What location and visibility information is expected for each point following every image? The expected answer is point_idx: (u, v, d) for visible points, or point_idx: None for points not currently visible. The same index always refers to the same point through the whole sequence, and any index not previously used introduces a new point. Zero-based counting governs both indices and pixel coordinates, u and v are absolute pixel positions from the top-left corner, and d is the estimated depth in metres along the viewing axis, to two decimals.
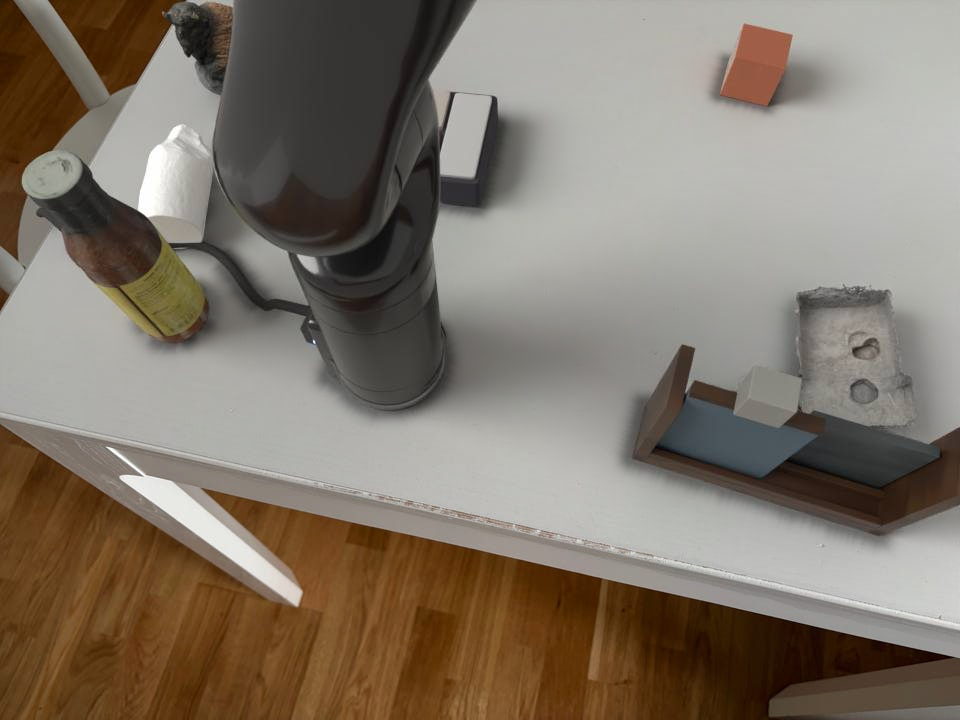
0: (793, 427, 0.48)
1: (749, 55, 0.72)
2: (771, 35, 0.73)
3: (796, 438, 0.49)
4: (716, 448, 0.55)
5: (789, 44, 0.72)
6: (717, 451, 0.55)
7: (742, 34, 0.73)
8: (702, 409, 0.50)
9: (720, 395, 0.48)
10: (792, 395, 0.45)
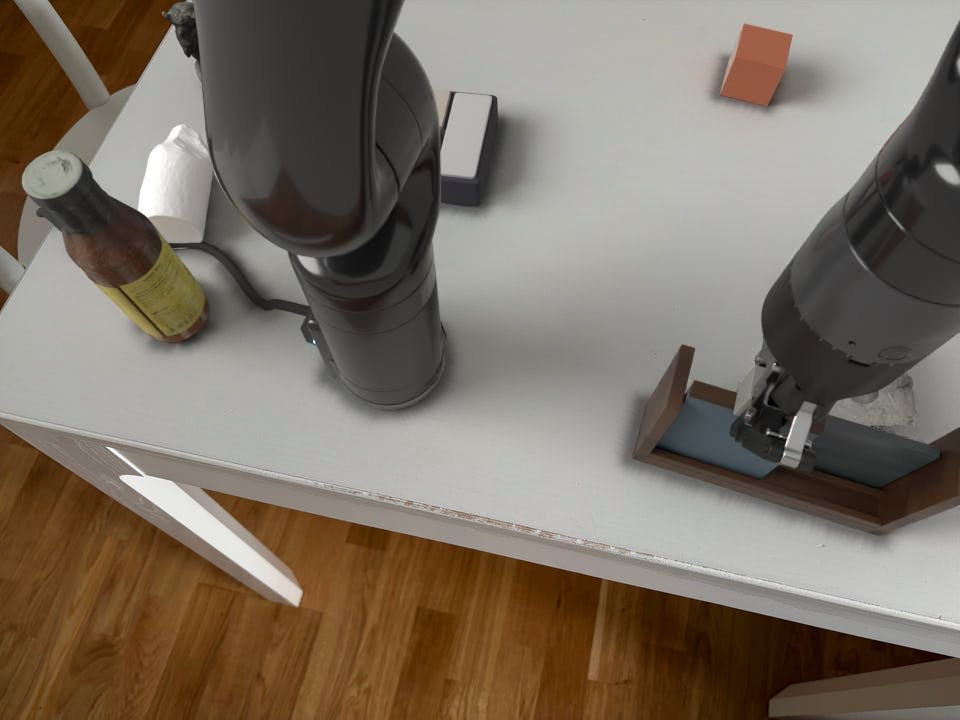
0: None
1: (749, 55, 0.72)
2: (771, 35, 0.73)
3: None
4: (716, 448, 0.55)
5: (789, 44, 0.72)
6: (717, 451, 0.55)
7: (742, 34, 0.73)
8: (702, 409, 0.50)
9: (720, 395, 0.48)
10: None
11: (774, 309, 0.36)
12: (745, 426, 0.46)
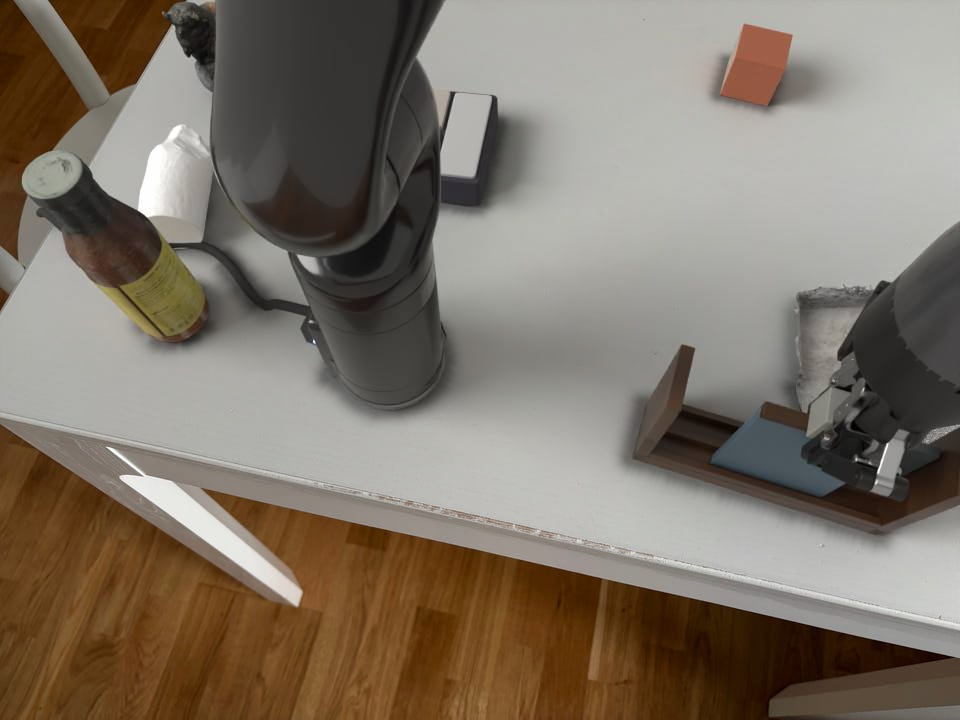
0: None
1: (749, 55, 0.72)
2: (771, 35, 0.73)
3: None
4: (779, 467, 0.54)
5: (789, 44, 0.72)
6: (779, 470, 0.55)
7: (742, 34, 0.73)
8: (771, 430, 0.49)
9: (792, 416, 0.47)
10: None
11: (871, 337, 0.35)
12: (820, 449, 0.46)
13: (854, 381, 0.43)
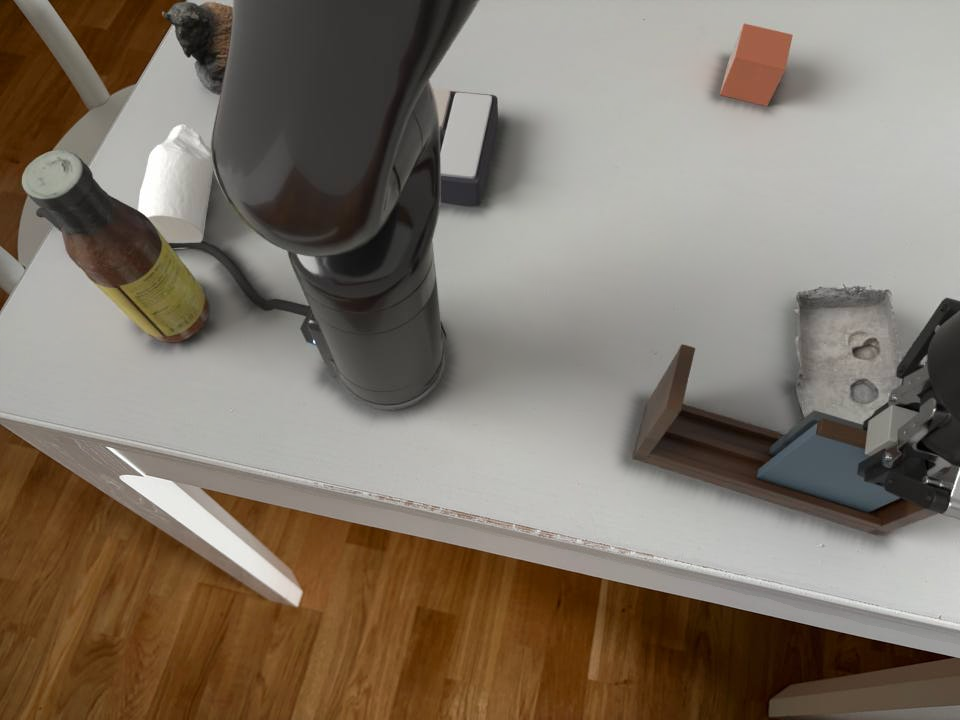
0: None
1: (749, 55, 0.72)
2: (771, 35, 0.73)
3: None
4: (828, 483, 0.54)
5: (789, 44, 0.72)
6: (828, 485, 0.54)
7: (742, 34, 0.73)
8: (826, 446, 0.49)
9: (850, 434, 0.47)
10: None
11: (949, 358, 0.35)
12: (879, 467, 0.45)
13: (917, 399, 0.43)
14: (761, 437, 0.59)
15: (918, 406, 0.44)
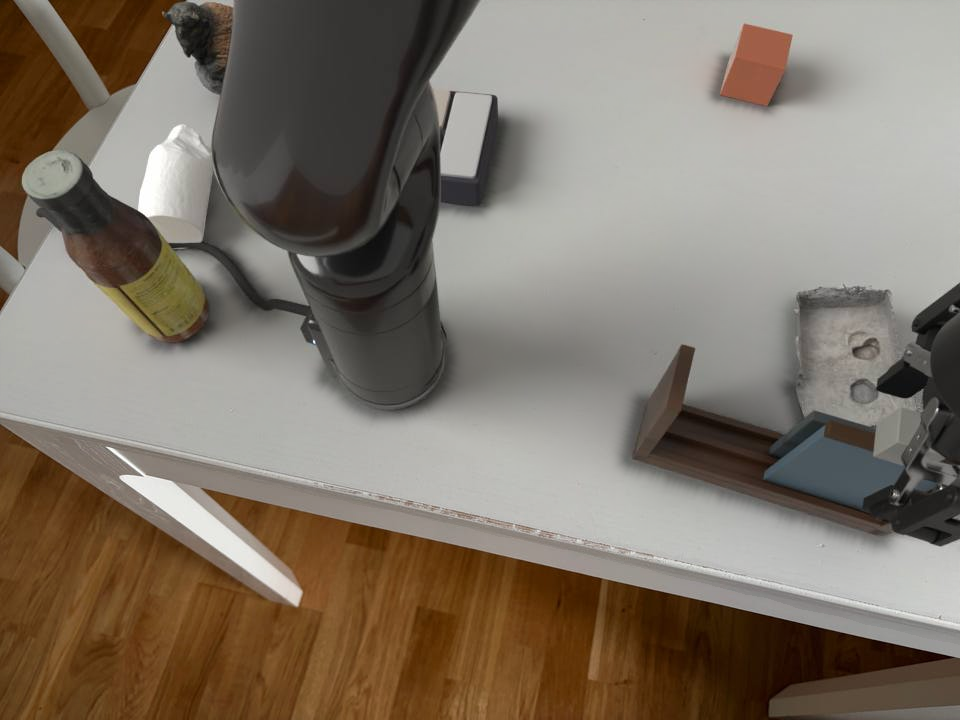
0: None
1: (749, 55, 0.72)
2: (771, 35, 0.73)
3: None
4: (835, 485, 0.54)
5: (789, 44, 0.72)
6: (835, 487, 0.54)
7: (742, 34, 0.73)
8: (834, 449, 0.49)
9: (858, 436, 0.47)
10: None
11: (953, 358, 0.35)
12: (886, 503, 0.43)
13: None
14: (761, 437, 0.59)
15: None
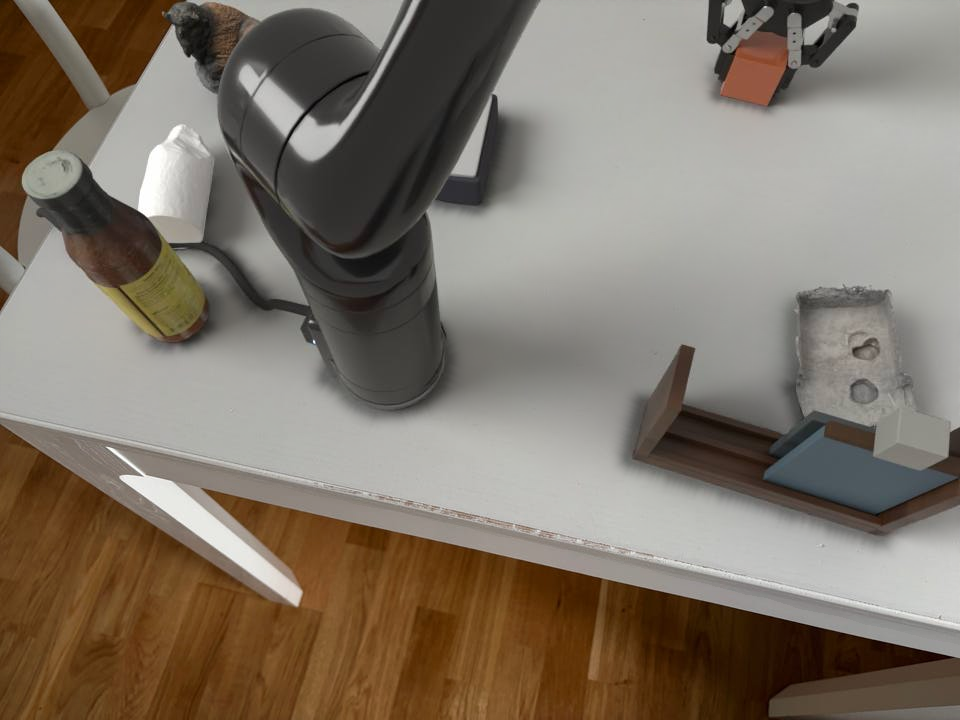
0: (933, 469, 0.47)
1: (749, 55, 0.72)
2: (771, 35, 0.73)
3: (932, 479, 0.48)
4: (835, 485, 0.54)
5: None
6: (835, 487, 0.54)
7: None
8: (834, 449, 0.49)
9: (858, 436, 0.47)
10: (941, 439, 0.43)
11: None
12: None
13: None
14: (761, 437, 0.59)
15: None
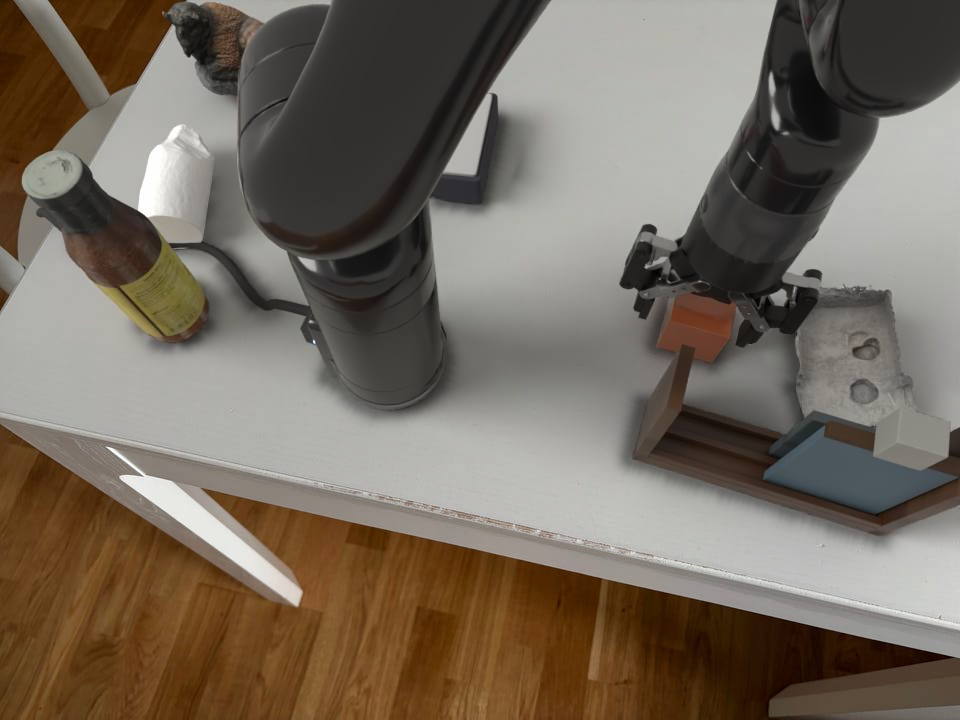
0: (933, 469, 0.47)
1: (687, 317, 0.60)
2: None
3: (932, 479, 0.48)
4: (835, 485, 0.54)
5: None
6: (835, 487, 0.54)
7: None
8: (834, 449, 0.49)
9: (858, 436, 0.47)
10: (941, 439, 0.43)
11: None
12: None
13: None
14: (761, 437, 0.59)
15: None
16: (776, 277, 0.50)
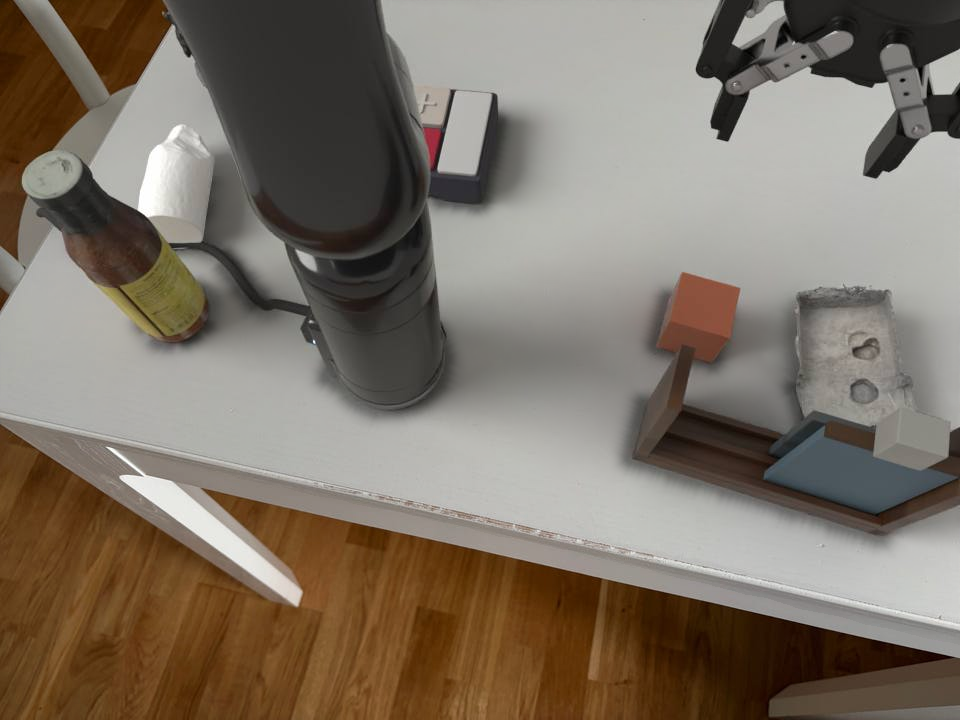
0: (933, 469, 0.47)
1: (687, 317, 0.60)
2: (714, 290, 0.61)
3: (932, 479, 0.48)
4: (835, 485, 0.54)
5: (736, 302, 0.60)
6: (835, 487, 0.54)
7: (680, 287, 0.61)
8: (834, 449, 0.49)
9: (858, 436, 0.47)
10: (941, 439, 0.43)
11: None
12: None
13: None
14: (761, 437, 0.59)
15: None
16: None
